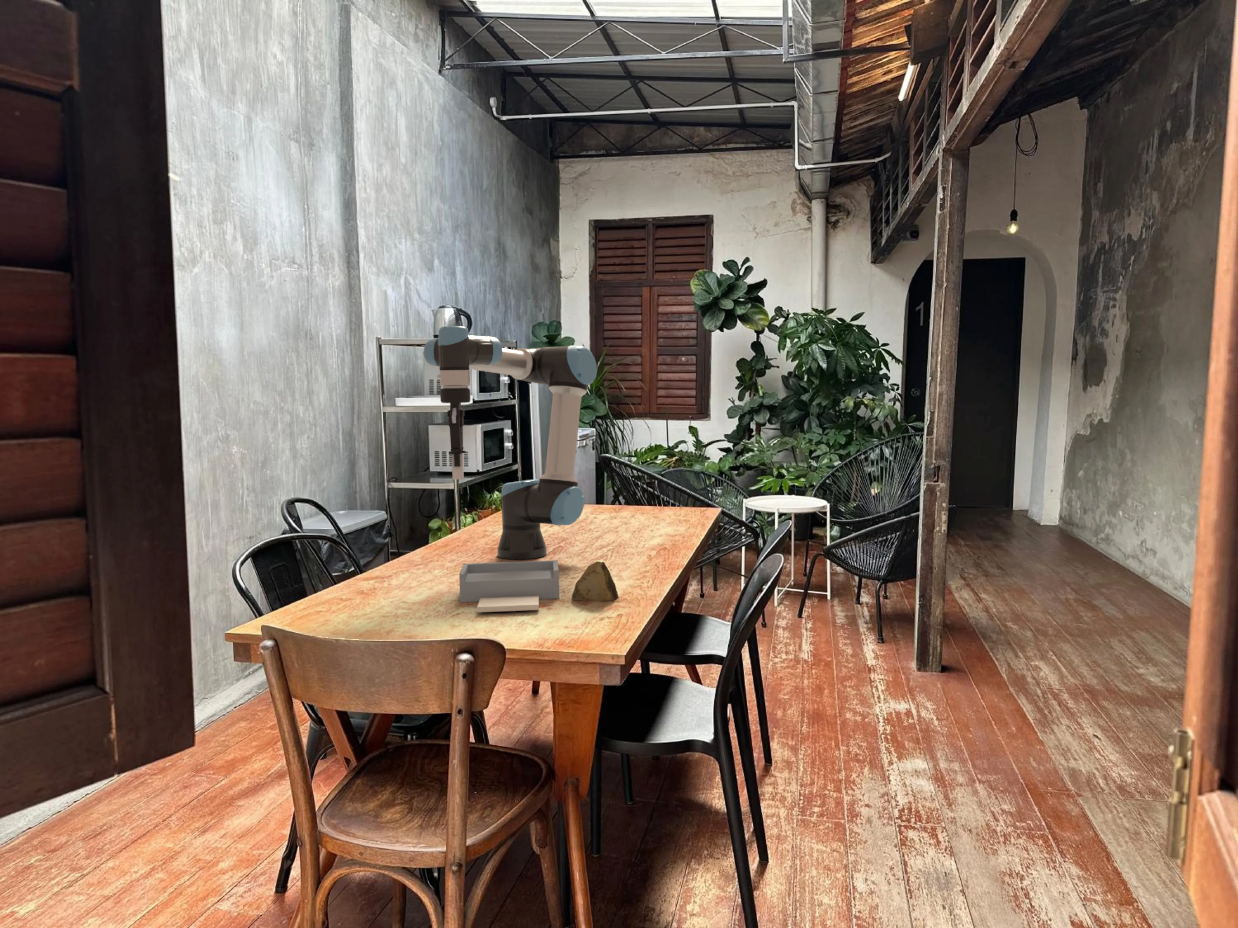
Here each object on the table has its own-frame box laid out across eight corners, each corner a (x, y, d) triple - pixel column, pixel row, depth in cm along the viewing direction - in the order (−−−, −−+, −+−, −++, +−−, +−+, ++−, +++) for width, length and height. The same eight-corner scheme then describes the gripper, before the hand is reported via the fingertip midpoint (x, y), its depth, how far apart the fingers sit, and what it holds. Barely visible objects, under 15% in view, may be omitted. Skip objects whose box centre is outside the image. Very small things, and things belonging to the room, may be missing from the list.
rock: (560, 593, 204) (594, 592, 198) (569, 561, 208) (602, 559, 202) (584, 611, 211) (617, 611, 206) (592, 580, 215) (625, 579, 210)
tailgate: (480, 598, 204) (477, 606, 193) (538, 595, 206) (538, 604, 195) (480, 603, 204) (477, 612, 193) (538, 600, 206) (538, 609, 195)
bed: (464, 590, 218) (463, 563, 217) (558, 586, 220) (557, 560, 219) (460, 602, 206) (459, 573, 205) (559, 598, 208) (558, 570, 207)
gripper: (442, 387, 223) (446, 476, 225) (437, 387, 210) (440, 482, 212) (471, 387, 223) (474, 476, 226) (467, 387, 211) (470, 481, 213)
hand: (458, 478), depth 219 cm, fingers closed
